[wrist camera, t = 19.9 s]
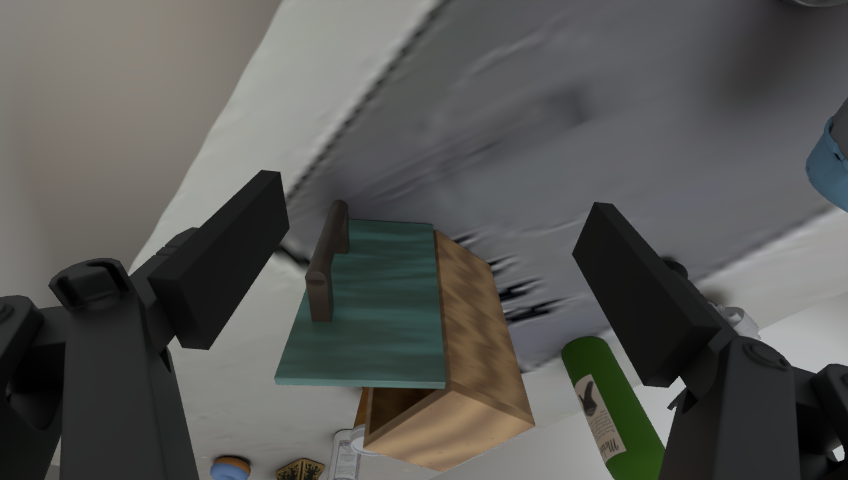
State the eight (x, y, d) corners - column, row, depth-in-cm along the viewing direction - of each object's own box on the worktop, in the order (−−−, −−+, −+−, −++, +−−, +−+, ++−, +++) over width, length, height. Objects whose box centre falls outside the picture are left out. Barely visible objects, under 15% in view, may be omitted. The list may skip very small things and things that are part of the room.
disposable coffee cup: (398, 398, 75) (396, 458, 65) (355, 394, 73) (346, 455, 64) (404, 373, 69) (403, 435, 59) (358, 370, 68) (349, 432, 58)
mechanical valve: (686, 349, 62) (721, 386, 48) (618, 271, 65) (632, 285, 52) (744, 319, 58) (799, 350, 45) (668, 239, 62) (698, 244, 48)
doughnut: (207, 461, 92) (198, 480, 88) (228, 450, 88) (220, 470, 84) (239, 471, 96) (232, 490, 93) (260, 462, 93) (254, 481, 89)
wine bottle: (571, 334, 63) (683, 578, 37) (615, 337, 64) (756, 577, 38) (553, 362, 68) (641, 592, 42) (595, 364, 69) (706, 591, 43)
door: (327, 175, 42) (257, 326, 23) (438, 183, 43) (458, 334, 24) (331, 223, 46) (275, 384, 27) (431, 230, 48) (444, 389, 29)
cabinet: (380, 285, 54) (362, 449, 35) (436, 229, 48) (452, 390, 28) (432, 313, 58) (442, 472, 39) (490, 265, 52) (535, 426, 33)
